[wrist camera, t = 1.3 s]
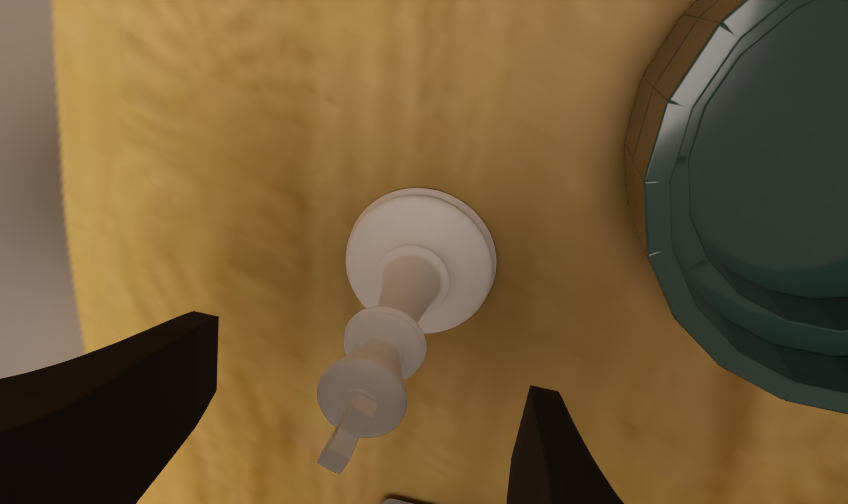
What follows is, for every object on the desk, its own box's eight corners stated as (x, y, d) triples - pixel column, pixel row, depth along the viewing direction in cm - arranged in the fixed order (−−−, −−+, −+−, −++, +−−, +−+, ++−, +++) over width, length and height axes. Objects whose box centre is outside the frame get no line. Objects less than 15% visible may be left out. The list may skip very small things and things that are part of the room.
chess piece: (324, 278, 23) (178, 481, 14) (391, 158, 21) (272, 299, 12) (448, 350, 23) (387, 596, 14) (526, 238, 21) (515, 438, 12)
